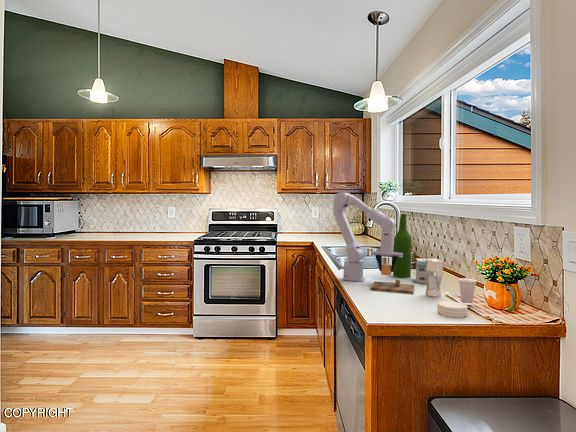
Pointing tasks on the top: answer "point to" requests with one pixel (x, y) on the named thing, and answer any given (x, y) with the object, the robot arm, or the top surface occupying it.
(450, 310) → the coaster
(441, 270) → the beer glass
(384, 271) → the orange brown block
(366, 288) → the top surface
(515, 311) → the top surface
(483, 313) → the top surface
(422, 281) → the light bulb box
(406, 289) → the junction board
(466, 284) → the smoothie
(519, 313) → the top surface
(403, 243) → the wine bottle
